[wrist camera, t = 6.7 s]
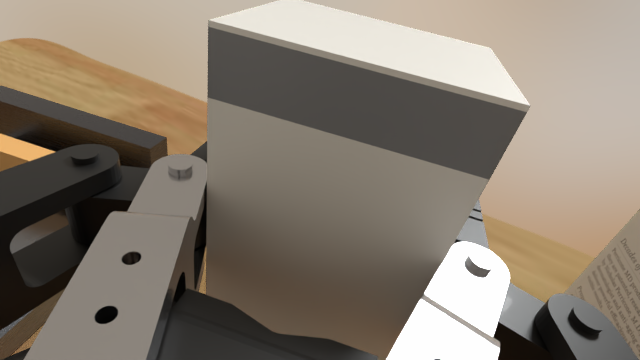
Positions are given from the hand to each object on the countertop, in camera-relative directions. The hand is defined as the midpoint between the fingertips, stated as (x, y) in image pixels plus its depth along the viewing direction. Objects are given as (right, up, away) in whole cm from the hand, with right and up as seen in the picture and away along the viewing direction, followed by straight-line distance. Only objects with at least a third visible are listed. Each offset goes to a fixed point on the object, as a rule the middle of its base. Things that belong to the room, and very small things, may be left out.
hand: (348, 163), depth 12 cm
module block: (-2, -7, +2) cm, 7 cm away
